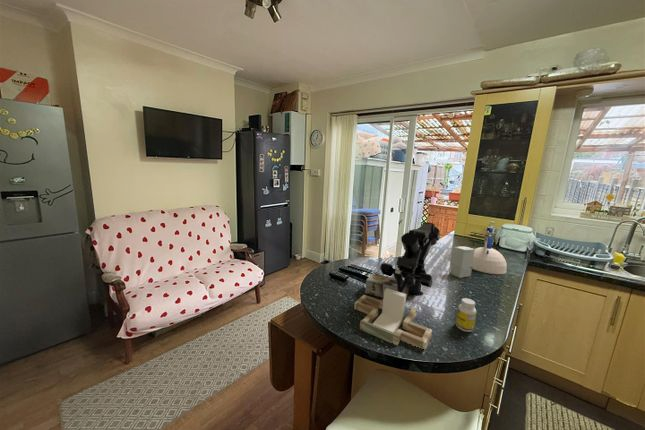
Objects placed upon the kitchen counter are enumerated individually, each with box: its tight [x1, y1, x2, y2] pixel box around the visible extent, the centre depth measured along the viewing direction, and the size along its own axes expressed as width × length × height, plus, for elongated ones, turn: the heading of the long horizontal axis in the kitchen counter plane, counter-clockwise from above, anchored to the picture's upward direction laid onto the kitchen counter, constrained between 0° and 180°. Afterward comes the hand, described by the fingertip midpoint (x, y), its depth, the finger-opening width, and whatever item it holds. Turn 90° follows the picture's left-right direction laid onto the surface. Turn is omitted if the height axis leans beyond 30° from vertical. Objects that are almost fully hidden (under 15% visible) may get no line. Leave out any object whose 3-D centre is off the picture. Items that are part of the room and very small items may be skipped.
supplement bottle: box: [455, 297, 477, 333], centre depth 86 cm, size 5×5×10 cm
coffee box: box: [364, 272, 409, 300], centre depth 107 cm, size 9×6×16 cm
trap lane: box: [353, 294, 433, 351], centre depth 88 cm, size 21×27×3 cm
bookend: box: [372, 288, 407, 333], centre depth 86 cm, size 11×7×10 cm, turn 145°
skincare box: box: [450, 246, 476, 279], centre depth 132 cm, size 8×6×15 cm
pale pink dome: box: [472, 236, 508, 275], centre depth 145 cm, size 20×21×18 cm
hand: (398, 295), depth 93 cm, fingers closed
